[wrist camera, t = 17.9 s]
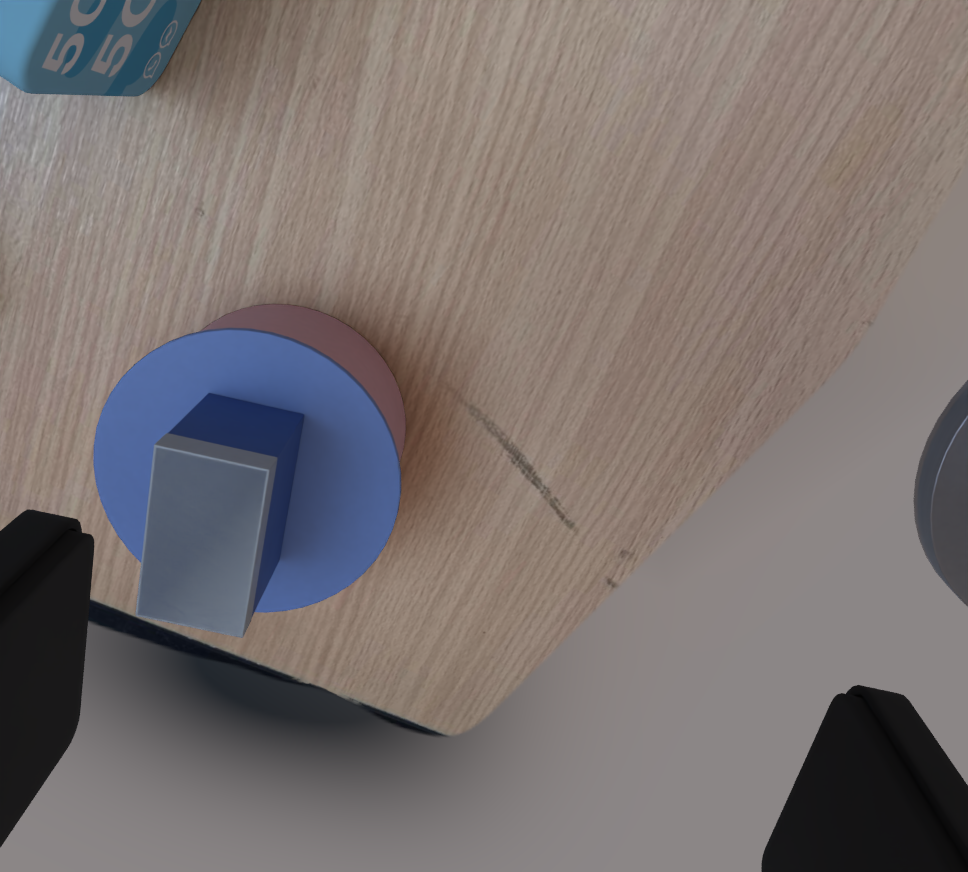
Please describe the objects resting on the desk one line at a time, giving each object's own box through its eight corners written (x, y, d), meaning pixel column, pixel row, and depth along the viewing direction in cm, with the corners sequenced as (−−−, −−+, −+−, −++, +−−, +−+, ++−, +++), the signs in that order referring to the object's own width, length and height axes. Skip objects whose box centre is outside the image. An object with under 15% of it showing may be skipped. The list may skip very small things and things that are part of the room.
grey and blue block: (305, 413, 36) (269, 470, 30) (280, 561, 38) (242, 638, 33) (207, 391, 36) (153, 444, 30) (188, 541, 38) (134, 616, 33)
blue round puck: (440, 328, 42) (429, 370, 35) (388, 561, 47) (369, 638, 40) (170, 265, 41) (105, 296, 34) (144, 508, 46) (82, 578, 39)
